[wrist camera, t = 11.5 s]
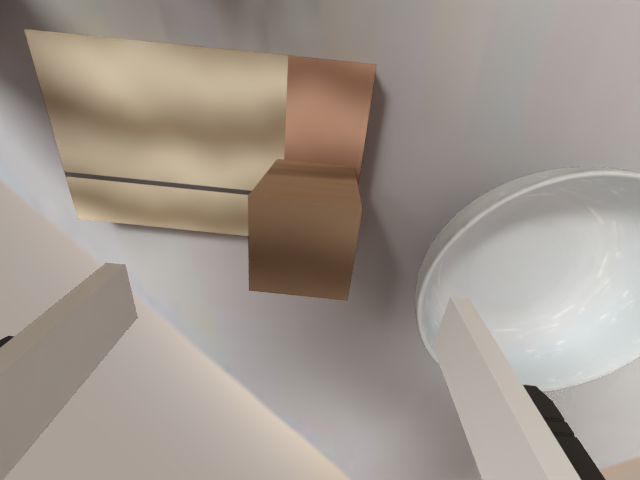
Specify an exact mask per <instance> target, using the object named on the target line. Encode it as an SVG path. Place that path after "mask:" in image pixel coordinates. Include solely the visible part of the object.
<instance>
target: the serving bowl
mask: <svg viewBox="0 0 640 480" xmlns="http://www.w3.org/2000/svg"><path fill="white" fill-rule="evenodd" d="M450 296H451V297H461V298H469V299H470V300H471V302H472V304H473V305H474V307H475V309H476V310H477V312H478V313H479V315H480V317H481V318H482V320H483V322H484V323H485V325H486V326H487V328H488V330H489V331H490V333H491V335H492V336H493V338H494V339H495V341H496V343H497V344H498V346H499V347H500V349H501V351H502V352H503V354H504V356H505V357H506V359H507V360H508V362H509V364H510V365H511V367H512V369H513V370H514V372H515V373H516V375H517V377H518V378H519V380H520V381H521V383H522V385H532V386H536V387H538V388H539V389H540V390H541V391H542V392H549V391H556V390H561V389H566V388H570V387H574V386H577V385H581V384H584V383H587V382H590V381H593V380H596V379H598V378H600V377H603V376H605V375H607V374H610V373H612V372H614V371H616V370H618V369H620V368H622V367H624V366H626V365H627V364H629V363H631V362H632V361H634V360H636V359H637V358H639V357H640V173H639V172H634V171H627V170H620V169H612V168H601V167H571V168H560V169H553V170H547V171H542V172H537V173H533V174H530V175H526V176H523V177H520V178H517V179H514V180H511V181H509V182H507V183H504V184H502V185H500V186H498V187H496V188H494V189H492V190H490V191H488V192H486V193H484V194H483V195H481V196H479V197H478V198H476V199H475V200H473V201H472V202H471V203H469V204H468V205H466V206H465V207H464V208H463V209H462V210H460V211H459V212H458V213H457V214H456V215H455V216H454V217H453V218H452V219H451V220H450V221H449V222H448V223H447V224H446V225H445V226H444V227H443V228H442V230H441V231H440V232H439V233H438V235H437V236H436V237H435V239H434V240H433V242H432V244H431V245H430V247H429V249H428V251H427V253H426V255H425V257H424V259H423V262H422V264H421V267H420V270H419V274H418V278H417V283H416V290H415V310H416V319H417V325H418V330H419V334H420V336H421V339H422V342H423V344H424V346H425V347H426V349H427V351H428V353H429V354H430V355H431V357H432V358H433V359H434V360H435V361H436V362H437V363H438V364H439V362H438V359H437V356H436V354H435V351H434V348H433V344H434V341H435V338H436V336H437V333H438V330H439V327H440V324H441V321H442V319H443V316H444V313H445V310H446V307H447V304H448V301H449V299H450ZM439 365H440V364H439Z"/></svg>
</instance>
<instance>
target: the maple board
mask: <svg viewBox="0 0 640 480" xmlns="http://www.w3.org/2000/svg"><path fill="white" fill-rule="evenodd" d="M24 31H25V35H26V38H27V42H28V45H29V49H30V52H31V56H32V59H33V63H34V66H35V70H36V73H37V77H38V80H39V84H40V87H41V91H42V94H43V98H44V101H45V105H46V108H47V112H48V116H49V119H50V123H51V126H52V130H53V133H54V137H55V140H56V144H57V147H58V151H59V154H60V158H61V161H62V165H63V168H64V172H65V175H66V179H67V182H68V186H69V189H70V193H71V196H72V200H73V203H74V207H75V211H76V214H77V218H78V219H85V220H95V221H104V222H114V223H124V224H134V225H144V226H153V227H163V228H173V229H183V230H193V231H202V232H212V233H222V234H232V235H242V236H248V195H249V194H250V193H251V192H252V190H253V189H254V188H255V186H256V185H257V184H258V183H259V181H260V180H261V179H262V178H263V176H264V175H265V174H266V172H267V171H268V170H269V169H270V167H271V166H272V165H273V164H274V162H275V161H276V160H277V159H283V160H293V161H302V162H312V163H322V164H332V165H341V166H351V167H354V169H355V174H356V179H357V184H359V178H360V171H361V164H362V158H363V151H364V144H365V138H366V131H367V124H368V118H369V111H370V104H371V98H372V91H373V84H374V78H375V71H376V64H367V63H357V62H347V61H337V60H327V59H317V58H307V57H298V56H288V55H278V54H268V53H258V52H248V51H238V50H228V49H218V48H208V47H198V46H189V45H179V44H169V43H159V42H149V41H139V40H129V39H119V38H109V37H99V36H89V35H80V34H70V33H60V32H50V31H40V30H30V29H24Z"/></svg>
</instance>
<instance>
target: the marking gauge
mask: <svg viewBox="0 0 640 480" xmlns="http://www.w3.org/2000/svg"><path fill="white" fill-rule="evenodd" d="M362 209H363V208H362V203H361V198H360V193H359V189H358V184H357V179H356V174H355V169H354V167H351V166H341V165H332V164H322V163H312V162H302V161H293V160H283V159H277V160H276V161H275V162H274V164H273V165H272V166H271V167H270V169H269V170H268V171H267V172H266V174H265V175H264V176H263V178H262V179H261V180H260V181H259V183H258V184H257V185H256V186H255V188H254V189H253V190H252V192H251V193H250V194H249V195H248V248H249V290H250V291H260V292H270V293H279V294H289V295H299V296H308V297H318V298H328V299H338V300H347V301H348V295H349V288H350V282H351V276H352V270H353V264H354V258H355V252H356V245H357V239H358V233H359V227H360V221H361V215H362Z"/></svg>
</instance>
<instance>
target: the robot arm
mask: <svg viewBox="0 0 640 480" xmlns="http://www.w3.org/2000/svg"><path fill="white" fill-rule="evenodd" d="M137 318H138V317H137V313H136V308H135V304H134V300H133V295H132V291H131V287H130V283H129V278H128V274H127V270H126V265H124V264H114V263H105V264H104V265H103V266H102V267H100V268H99V269H98V270H97V271H95V272H94V273H93V274H92V275H90V276H89V277H88V278H87V279H85V280H84V281H83V282H82V283H80V284H79V285H78V286H77V287H75V288H74V289H73V290H72V291H70V293H68V294H67V295H65V296H64V297H63V298H62V299H60V300H59V301H58V302H57V303H55V304H54V305H53V306H52V307H50V308H49V309H48V310H47V311H46V312H44V313H43V314H42V315H41V316H39V317H38V318H37V319H36V320H34V321H33V322H32V323H31V324H29V325H28V326H27V327H26V328H24V329H23V330H22V331H21V332H19V333H18V334H17V335H16V336H7V337H5V338H3V339H1V340H0V480H4V478H5V477H6V476H7V475H8V474H9V472H10V471H11V470H12V469H13V468H14V466H15V465H16V464H17V463H18V461H19V460H20V459H21V458H22V457H23V455H24V454H25V453H26V452H27V451H28V449H29V448H30V447H31V446H32V445H33V443H34V442H35V441H36V440H37V439H38V437H39V436H40V435H41V434H42V433H43V431H44V430H45V429H46V428H47V427H48V425H49V424H50V423H51V422H52V420H53V419H54V418H55V417H56V415H57V414H58V413H59V412H60V411H61V410H62V408H63V407H64V406H65V405H66V404H67V402H68V401H69V400H70V398H72V396H73V395H74V394H75V393H76V391H77V390H78V389H79V388H80V387H81V385H82V384H83V383H84V382H85V381H86V379H87V378H88V377H89V376H90V375H91V373H92V372H93V371H94V370H95V368H96V367H97V366H98V365H99V364H100V362H101V361H102V360H103V359H104V358H105V356H106V355H107V354H108V353H109V351H110V350H111V349H112V348H113V347H114V345H115V344H116V343H117V342H118V341H119V339H120V338H121V337H122V336H123V335H124V333H125V332H126V331H127V330H128V329H129V327H130V326H131V325H132V324H133V323H134V321H135V320H136V319H137ZM433 348H434V351H435V354H436V356H437V359H438V362H439V364H440V367H441V370H442V372H443V375H444V378H445V381H446V383H447V386H448V389H449V391H450V394H451V397H452V399H453V402H454V405H455V408H456V410H457V413H458V416H459V418H460V421H461V424H462V426H463V429H464V432H465V435H466V437H467V440H468V443H469V445H470V448H471V451H472V454H473V456H474V459H475V462H476V464H477V467H478V470H479V472H480V475H481V478H482V480H605V479H604V477H603V475H602V474H601V473H600V471H599V469H598V468H597V467H596V465H595V464H594V462H593V461H592V459H591V458H590V456H589V455H588V453H587V452H586V450H585V449H584V447H583V446H582V444H581V443H580V441H579V440H578V439H577V437H575V436H574V433H573V431H572V430H571V428H570V427H569V425H568V424H567V422H564V418H563V416H562V415H561V413H560V412H559V410H558V409H557V408H556V406H555V405H554V403H553V402H552V401H551V400H550V399H549V398H548V397H547V396H546V395H545V394H544V393H543V392H542V391H541V390H540V389H539V388H538V387H536V386H532V385H522V383H521V381H520V380H519V378H518V377H517V375H516V373H515V372H514V370H513V369H512V367H511V365H510V364H509V362H508V360H507V359H506V357H505V356H504V354H503V352H502V351H501V349H500V347H499V346H498V344H497V343H496V341H495V339H494V338H493V336H492V335H491V333H490V331H489V330H488V328H487V326H486V325H485V323H484V322H483V320H482V318H481V317H480V315H479V313H478V312H477V310H476V309H475V307H474V305H473V304H472V302H471V300H470V299H469V298H461V297H451V296H450V299H449V301H448V304H447V307H446V310H445V313H444V316H443V319H442V321H441V324H440V327H439V330H438V333H437V336H436V338H435V341H434V344H433Z"/></svg>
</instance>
